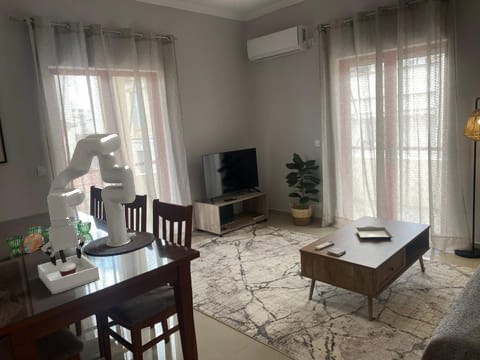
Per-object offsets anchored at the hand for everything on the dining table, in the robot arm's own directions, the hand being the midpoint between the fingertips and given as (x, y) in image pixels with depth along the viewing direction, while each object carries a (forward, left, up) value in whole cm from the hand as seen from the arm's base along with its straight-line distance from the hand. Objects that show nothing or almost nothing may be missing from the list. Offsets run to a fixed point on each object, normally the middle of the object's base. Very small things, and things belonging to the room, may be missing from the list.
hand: (67, 261), depth 151 cm
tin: (+3, -53, -8) cm, 53 cm away
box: (0, 0, -8) cm, 8 cm away
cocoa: (0, 0, -7) cm, 7 cm away
